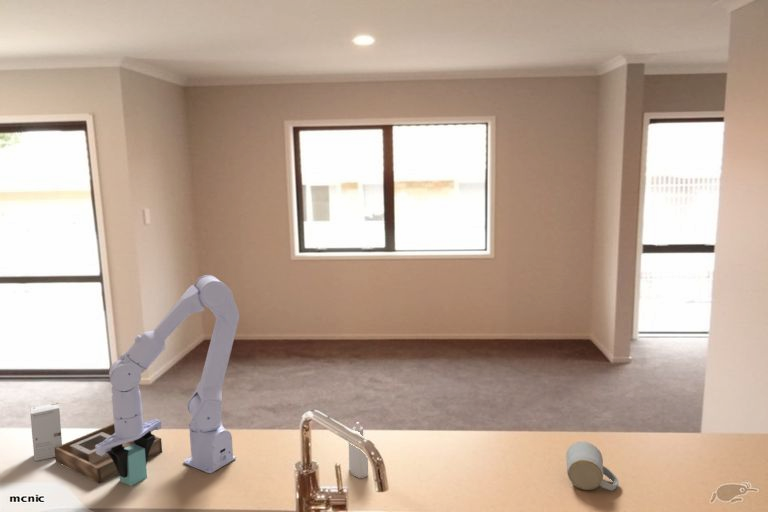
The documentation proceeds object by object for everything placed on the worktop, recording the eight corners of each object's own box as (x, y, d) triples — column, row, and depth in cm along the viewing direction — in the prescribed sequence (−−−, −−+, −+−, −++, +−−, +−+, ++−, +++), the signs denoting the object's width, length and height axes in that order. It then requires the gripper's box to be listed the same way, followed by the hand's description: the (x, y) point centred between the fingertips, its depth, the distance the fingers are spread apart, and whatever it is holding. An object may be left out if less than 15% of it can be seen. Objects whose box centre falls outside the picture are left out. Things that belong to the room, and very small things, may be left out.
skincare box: (34, 462, 128) (28, 414, 126) (34, 454, 132) (28, 407, 130) (64, 454, 131) (59, 407, 129) (63, 447, 135) (58, 401, 133)
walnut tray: (162, 451, 132) (161, 438, 132) (99, 483, 119) (97, 468, 118) (118, 434, 141) (117, 421, 141) (55, 461, 128) (54, 448, 127)
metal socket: (122, 451, 130) (121, 439, 130) (89, 466, 124) (88, 454, 123) (103, 443, 135) (102, 431, 134) (70, 457, 128) (69, 445, 127)
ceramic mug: (566, 489, 114) (568, 456, 113) (565, 469, 122) (567, 438, 121) (620, 498, 111) (622, 464, 110) (615, 477, 119) (618, 445, 118)
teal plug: (147, 477, 121) (144, 448, 120) (130, 486, 117) (128, 456, 116) (136, 472, 123) (133, 443, 122) (119, 480, 120) (117, 451, 118)
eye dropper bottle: (368, 465, 125) (367, 416, 123) (368, 479, 119) (367, 428, 117) (349, 466, 125) (348, 417, 123) (348, 479, 119) (347, 428, 117)
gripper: (146, 398, 126) (150, 452, 128) (85, 422, 114) (90, 481, 116) (165, 404, 122) (169, 460, 124) (104, 430, 110) (109, 491, 112)
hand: (132, 471), depth 120 cm, fingers closed on teal plug, 4 cm apart
